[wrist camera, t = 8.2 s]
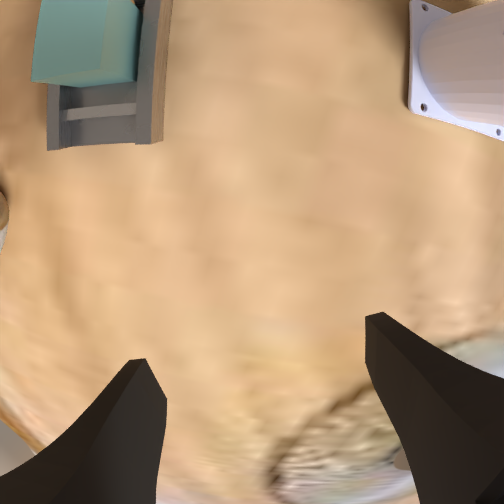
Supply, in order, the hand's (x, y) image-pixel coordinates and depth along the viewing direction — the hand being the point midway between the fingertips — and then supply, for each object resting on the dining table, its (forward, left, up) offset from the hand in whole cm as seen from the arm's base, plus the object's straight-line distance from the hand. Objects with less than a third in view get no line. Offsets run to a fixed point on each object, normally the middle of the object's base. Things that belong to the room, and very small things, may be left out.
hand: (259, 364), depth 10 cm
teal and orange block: (+8, -11, -9) cm, 17 cm away
